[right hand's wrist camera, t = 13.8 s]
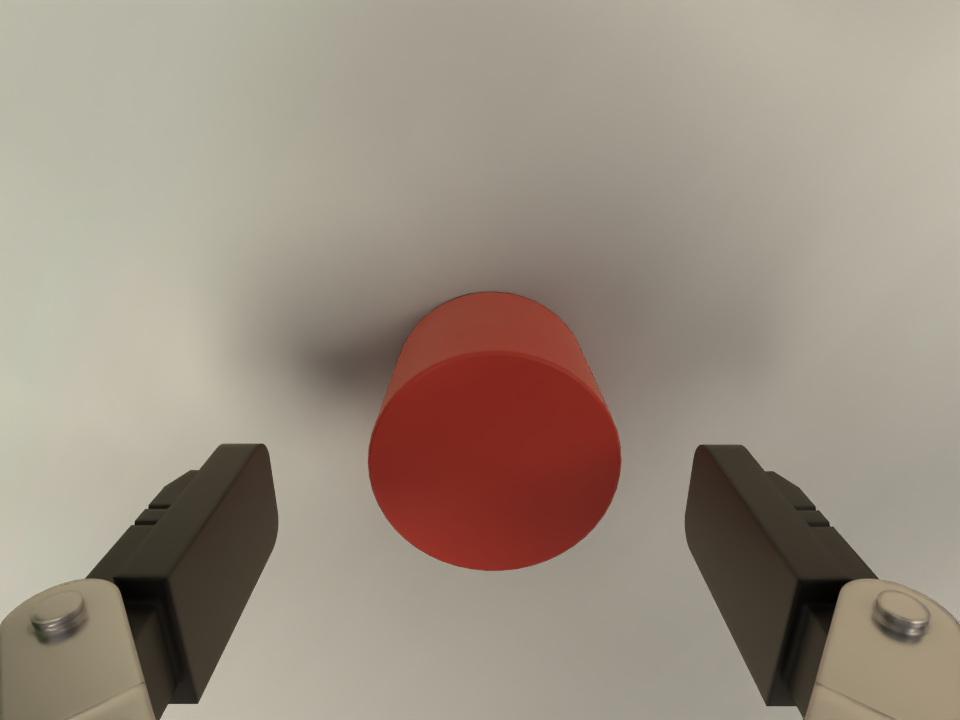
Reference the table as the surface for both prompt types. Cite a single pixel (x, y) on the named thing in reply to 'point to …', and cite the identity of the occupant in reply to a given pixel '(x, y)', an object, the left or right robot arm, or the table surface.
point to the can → (493, 436)
